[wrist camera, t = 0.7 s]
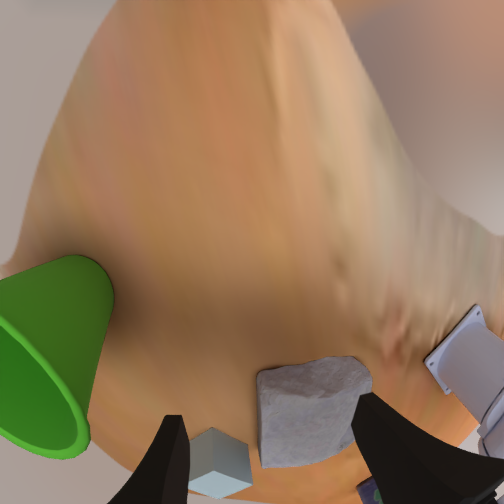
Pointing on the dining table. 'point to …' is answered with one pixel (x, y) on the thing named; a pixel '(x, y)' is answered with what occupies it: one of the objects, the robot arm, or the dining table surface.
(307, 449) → the stone block
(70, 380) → the cup
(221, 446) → the cube
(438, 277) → the dining table surface
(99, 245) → the dining table surface
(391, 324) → the dining table surface
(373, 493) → the flask
